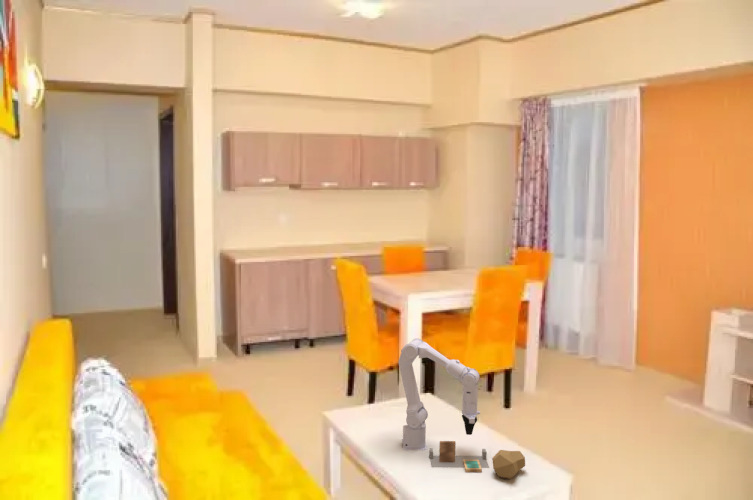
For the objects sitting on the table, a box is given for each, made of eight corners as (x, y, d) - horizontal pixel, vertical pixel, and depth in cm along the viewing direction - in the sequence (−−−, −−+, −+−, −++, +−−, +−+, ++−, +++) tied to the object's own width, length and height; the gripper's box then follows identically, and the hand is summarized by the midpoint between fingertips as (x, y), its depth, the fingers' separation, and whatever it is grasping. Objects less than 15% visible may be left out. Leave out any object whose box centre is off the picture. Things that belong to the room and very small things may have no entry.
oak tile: (462, 462, 250) (465, 472, 243) (462, 459, 250) (465, 468, 242) (478, 462, 250) (481, 472, 243) (478, 459, 250) (481, 468, 242)
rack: (431, 468, 246) (431, 459, 246) (429, 456, 256) (429, 448, 256) (489, 469, 246) (489, 460, 246) (485, 457, 256) (485, 448, 256)
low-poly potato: (495, 486, 234) (524, 476, 230) (483, 456, 237) (512, 446, 234) (504, 479, 247) (532, 470, 244) (493, 451, 251) (520, 441, 247)
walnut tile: (439, 462, 251) (439, 442, 249) (439, 460, 252) (439, 440, 251) (455, 462, 251) (455, 442, 249) (454, 460, 252) (455, 440, 251)
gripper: (483, 407, 246) (481, 441, 248) (477, 394, 261) (476, 426, 263) (464, 407, 247) (463, 441, 248) (459, 394, 261) (458, 426, 263)
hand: (468, 434), depth 255 cm, fingers closed
